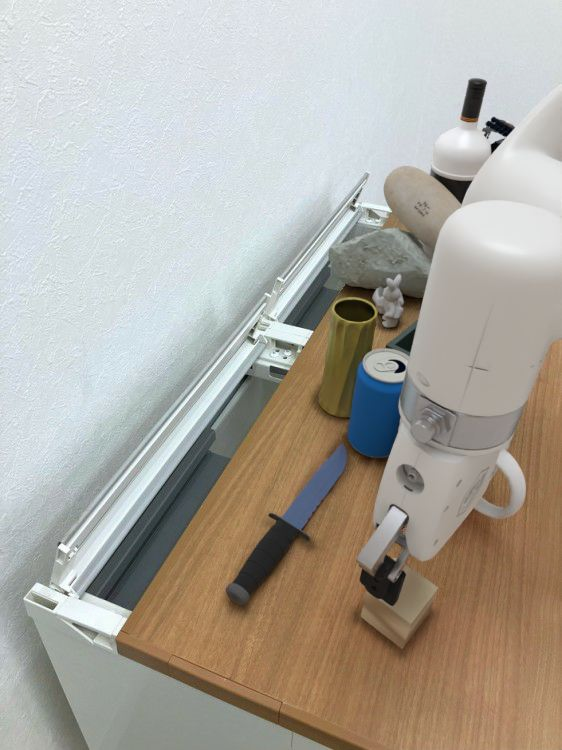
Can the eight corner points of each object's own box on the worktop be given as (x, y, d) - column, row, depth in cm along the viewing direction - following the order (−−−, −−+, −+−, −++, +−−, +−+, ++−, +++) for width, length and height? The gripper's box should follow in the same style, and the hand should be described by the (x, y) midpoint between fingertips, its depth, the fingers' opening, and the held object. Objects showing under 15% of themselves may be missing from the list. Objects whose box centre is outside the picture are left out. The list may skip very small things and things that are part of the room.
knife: (261, 608, 55) (215, 577, 56) (256, 620, 56) (212, 590, 58) (370, 450, 72) (332, 429, 73) (364, 463, 74) (328, 442, 75)
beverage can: (408, 459, 72) (428, 381, 65) (354, 464, 71) (368, 386, 64) (391, 420, 77) (408, 343, 69) (341, 424, 76) (352, 348, 68)
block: (428, 613, 58) (438, 587, 55) (402, 649, 55) (411, 624, 52) (387, 583, 60) (395, 556, 57) (359, 616, 57) (366, 590, 54)
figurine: (373, 303, 98) (383, 256, 94) (405, 312, 97) (418, 265, 92) (361, 323, 92) (372, 274, 87) (396, 333, 91) (408, 283, 86)
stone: (452, 142, 86) (471, 248, 86) (467, 153, 92) (485, 252, 92) (374, 171, 93) (392, 269, 93) (393, 179, 99) (410, 272, 99)
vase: (346, 425, 76) (360, 332, 67) (308, 401, 79) (316, 309, 70) (375, 401, 80) (392, 309, 70) (338, 379, 83) (349, 288, 73)
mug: (535, 520, 66) (578, 435, 58) (465, 571, 61) (501, 486, 53) (435, 435, 75) (459, 351, 67) (366, 473, 70) (383, 388, 62)
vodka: (398, 258, 107) (432, 71, 88) (444, 250, 110) (487, 68, 91) (424, 285, 101) (468, 91, 81) (473, 277, 104) (526, 87, 84)
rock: (441, 303, 100) (435, 247, 103) (453, 264, 87) (446, 202, 90) (331, 311, 102) (328, 256, 105) (327, 274, 89) (324, 212, 91)
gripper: (445, 510, 33) (391, 661, 44) (568, 363, 43) (500, 515, 54) (332, 438, 36) (309, 595, 47) (471, 318, 47) (426, 470, 58)
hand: (411, 552), depth 51 cm, fingers open, 9 cm apart
